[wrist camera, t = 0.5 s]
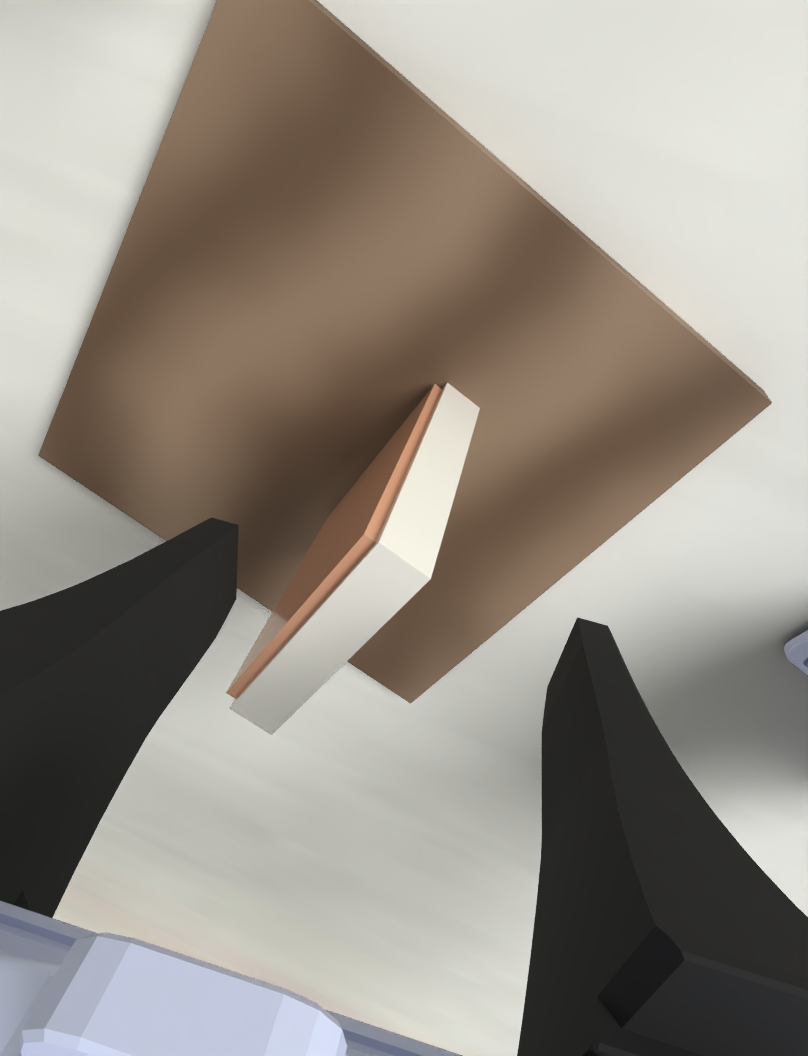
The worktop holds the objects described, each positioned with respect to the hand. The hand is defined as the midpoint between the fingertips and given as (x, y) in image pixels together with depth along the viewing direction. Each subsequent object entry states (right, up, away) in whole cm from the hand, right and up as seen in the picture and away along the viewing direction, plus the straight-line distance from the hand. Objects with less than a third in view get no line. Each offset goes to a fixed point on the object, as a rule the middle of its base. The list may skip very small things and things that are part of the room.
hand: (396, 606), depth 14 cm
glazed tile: (0, +4, +9) cm, 9 cm away
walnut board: (-1, +5, +9) cm, 11 cm away
